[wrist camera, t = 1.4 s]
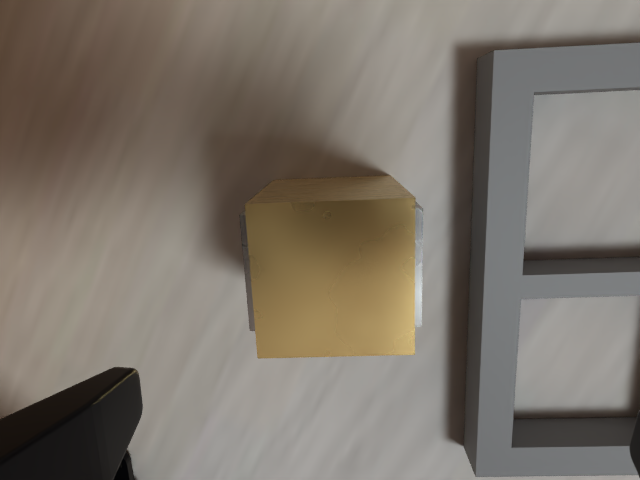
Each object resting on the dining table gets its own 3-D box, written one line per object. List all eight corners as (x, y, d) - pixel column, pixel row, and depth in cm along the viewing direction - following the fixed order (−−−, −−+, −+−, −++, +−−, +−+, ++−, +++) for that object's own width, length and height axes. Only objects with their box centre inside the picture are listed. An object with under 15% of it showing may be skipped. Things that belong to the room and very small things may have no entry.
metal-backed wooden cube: (272, 289, 21) (245, 358, 15) (264, 180, 20) (231, 204, 13) (399, 285, 21) (427, 354, 14) (399, 174, 19) (429, 197, 13)
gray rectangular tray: (463, 446, 22) (475, 476, 21) (477, 58, 18) (493, 50, 16) (672, 443, 22) (705, 474, 20) (737, 44, 18) (786, 34, 16)
